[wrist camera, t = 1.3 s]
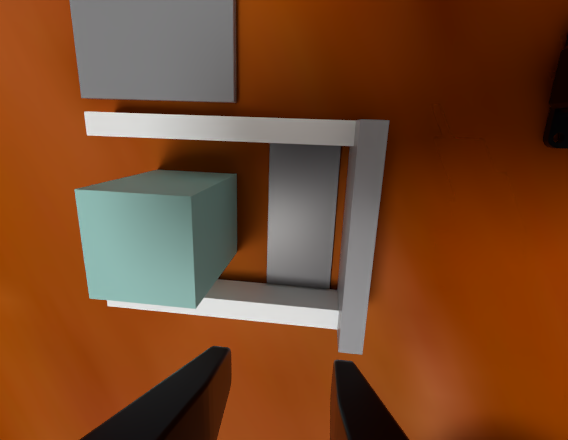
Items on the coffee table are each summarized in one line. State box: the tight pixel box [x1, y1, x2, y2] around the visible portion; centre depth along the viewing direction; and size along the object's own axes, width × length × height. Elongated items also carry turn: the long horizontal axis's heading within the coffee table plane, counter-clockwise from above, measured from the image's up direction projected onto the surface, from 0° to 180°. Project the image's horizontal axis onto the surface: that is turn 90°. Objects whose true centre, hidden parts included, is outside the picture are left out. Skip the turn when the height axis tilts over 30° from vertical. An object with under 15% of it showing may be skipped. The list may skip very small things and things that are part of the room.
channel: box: [84, 112, 389, 355], centre depth 18 cm, size 15×11×4 cm
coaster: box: [70, 0, 236, 103], centre depth 18 cm, size 9×9×1 cm
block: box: [74, 170, 237, 309], centre depth 17 cm, size 5×5×7 cm
